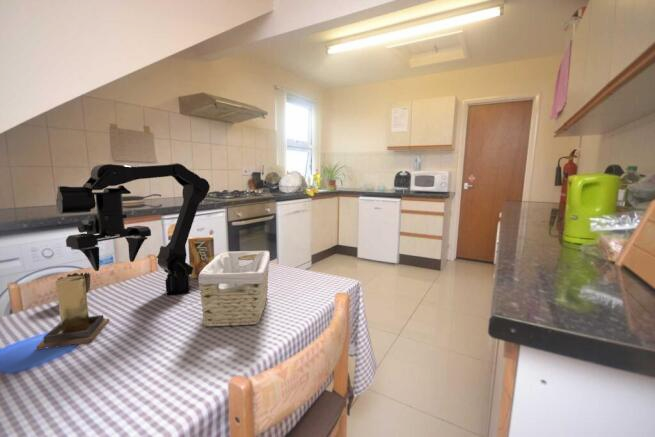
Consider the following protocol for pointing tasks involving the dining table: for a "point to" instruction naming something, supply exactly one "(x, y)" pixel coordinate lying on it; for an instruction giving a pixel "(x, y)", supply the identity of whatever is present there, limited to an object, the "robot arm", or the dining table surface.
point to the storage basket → (234, 288)
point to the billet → (73, 304)
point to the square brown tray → (74, 334)
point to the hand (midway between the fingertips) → (115, 265)
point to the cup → (87, 279)
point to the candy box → (200, 253)
